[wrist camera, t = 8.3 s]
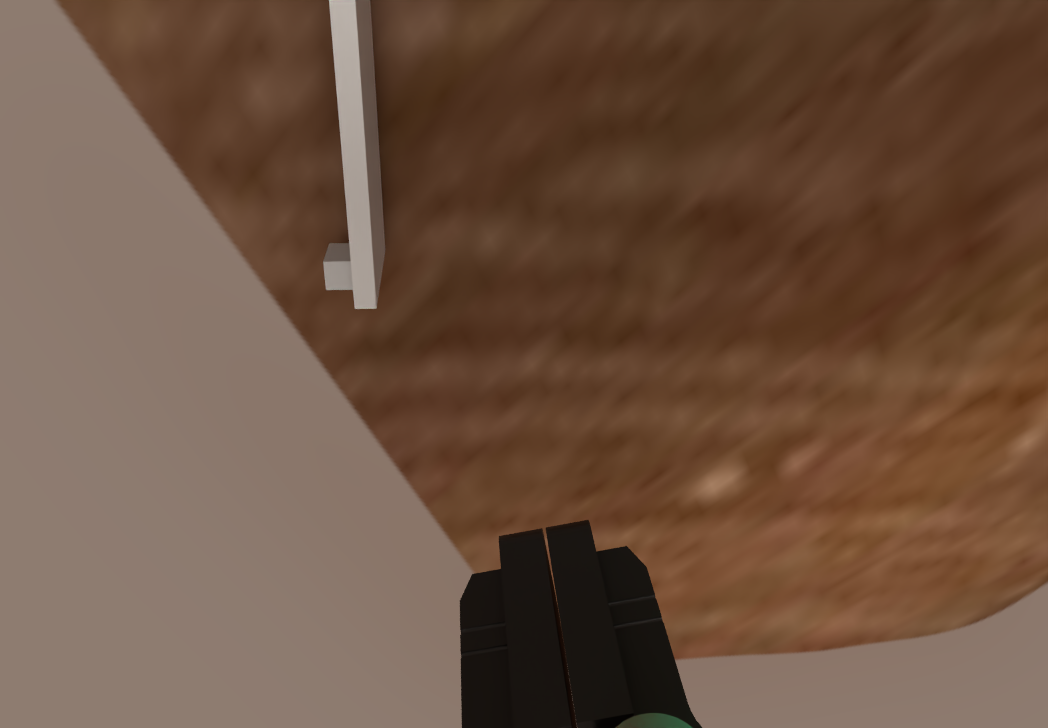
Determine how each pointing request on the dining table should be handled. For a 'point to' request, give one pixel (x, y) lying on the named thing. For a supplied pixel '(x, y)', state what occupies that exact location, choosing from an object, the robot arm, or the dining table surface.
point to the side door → (357, 156)
